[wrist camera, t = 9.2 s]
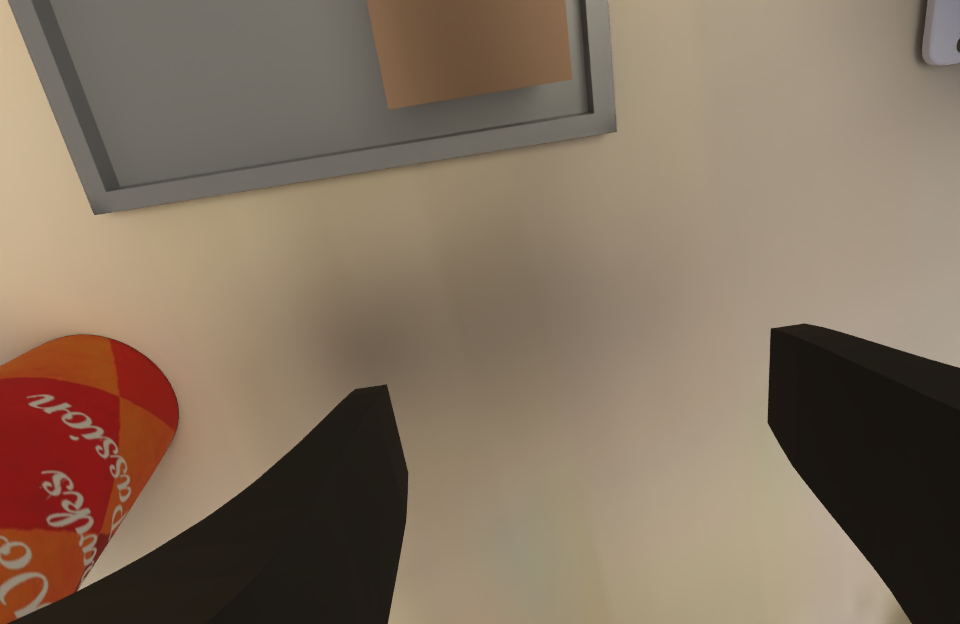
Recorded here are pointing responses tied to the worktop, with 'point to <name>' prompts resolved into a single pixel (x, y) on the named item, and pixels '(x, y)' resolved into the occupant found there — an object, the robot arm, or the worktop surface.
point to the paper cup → (73, 460)
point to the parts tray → (271, 96)
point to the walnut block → (467, 47)
